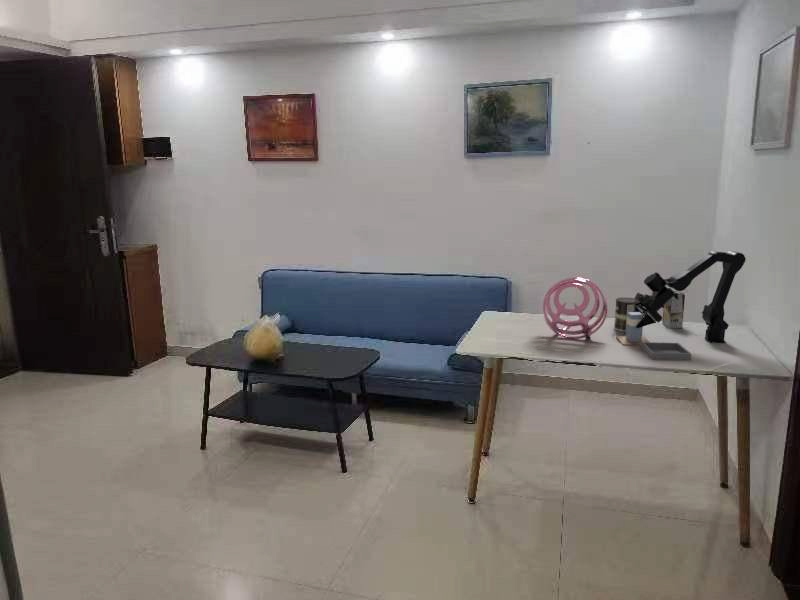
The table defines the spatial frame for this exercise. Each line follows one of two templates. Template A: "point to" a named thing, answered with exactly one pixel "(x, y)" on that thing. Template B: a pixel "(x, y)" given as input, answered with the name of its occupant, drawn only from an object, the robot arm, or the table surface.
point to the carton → (634, 327)
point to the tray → (666, 351)
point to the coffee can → (623, 312)
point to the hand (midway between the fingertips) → (632, 324)
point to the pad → (625, 342)
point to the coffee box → (674, 312)
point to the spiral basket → (577, 311)
